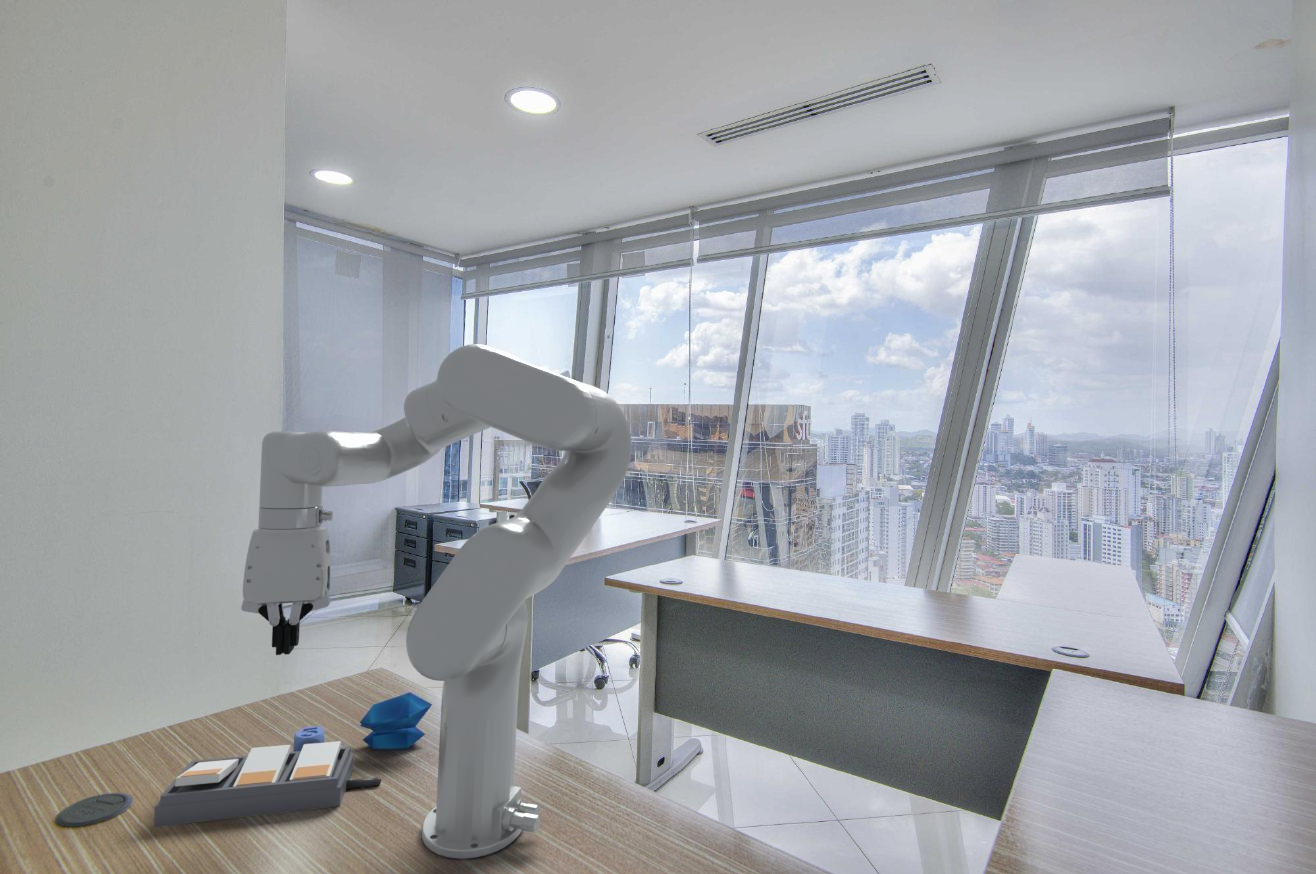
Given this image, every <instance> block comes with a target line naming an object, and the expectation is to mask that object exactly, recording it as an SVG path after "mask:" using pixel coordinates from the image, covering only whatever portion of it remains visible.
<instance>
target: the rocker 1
mask: <svg viewBox="0 0 1316 874" xmlns="http://www.w3.org/2000/svg"><path fill="white" fill-rule="evenodd" d="M238 761H239V759H232V760H220V761H209V762H199V763H197V764H196V765H194V766H193V767H191V768H190V769H188V770H187V771H185V772H184V773H183V774H181V775H180V776H177V777H176V778H175V779H176V782H175V786H185V785H195V784H206V783H216V782H220V781H221V780H222V779H223V778H225V777H226V776H228V774H229V773H231V772H232V771H233V770H234V769H236V768H237V767H238Z"/></svg>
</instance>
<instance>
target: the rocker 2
mask: <svg viewBox="0 0 1316 874" xmlns="http://www.w3.org/2000/svg"><path fill="white" fill-rule="evenodd" d="M340 748H342V740H341V741H340V740H339V741H337V740H336V741H326V742H325V741H324V743H313V744H304V745H303V748H302V750H301V753H300V755H299V758H298V760H297V763H296V765H295V767H294V770H293V772H292V775H291V777H290V780H289V781H298V780H308V779H318V778H328V777H331V776H332V773H333V770H334V767H335V764H336V761H337V758H338V754H339V751H340Z"/></svg>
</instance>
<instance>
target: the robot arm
mask: <svg viewBox="0 0 1316 874" xmlns="http://www.w3.org/2000/svg"><path fill="white" fill-rule="evenodd" d="M403 411H404V413H403V414H404V417H403V418H401V419H399V420H396V422H393V423H391V424H389V425H386V426H384V427H381V428H379V429H378V430H374V431H371V432H367V431H366V432H364V431H342V430H340V431H339V430H320V431H319V430H318V431H311V432H307V431H306V432H305V431H271V432H268V433H267V434H265V435H264V437H263V438H262V442H261V455H260V456H261V458H260V459H261V460H260V482H259V484H260V485H259V505H258V523H257V524H258V528H256V529H254V530H253V531H252V533H251V537H250V540H249V544H248V549H247V554H246V558H245V559H246V560H245V564H244V572H243V581H242V582H243V583H242V598H243V601H242V604H241V606H240V607H241V608H240V609H241V610H242V611H243V612H246V613H253V614H259V615H260V616H261V617H263V618H264V619H265V620H266V621H268V624H269V625H270V626H271V627H272V630H271V631H272V632H271V634H272V635H271V647H272V648H275V656H281V655H282V654H284V655H285V656H286V655H290V654H291V653H292V652H293V650H294V649H295V647H297V646H298V645H299V643H300V642H299V641H300V624H301V621H302V620H303V618H305V617H306V616H307V615H308V614H309V613H310V612H313V611H317V610H321V609H324V608H328V607H329V606H330V604H331V601H332V600H331V597H330V593H329V591H330V589H331V583H332V582H331V581H332V567H331V566H332V564H331V561H332V559H331V544H330V538H329V537H330V536H329V531H328V528H327V527H322V524H323V523H325V522H327V521H333V518H334V517H333V516H334V514H333V511H331V510H329V511H327V510H326V509H324V508H323V505H322V504H323V487H324V488H325V487H327V488H328V487H329V488H330V487H342V486H343V487H344V486H350V485H351V486H354V485H369V484H375V483H380V482H383V481H386V480H389V479H391V478H393V477H396V476H398V475H401V474H403V473H405V472H407V471H410V470H412V469H414V468H416V467H419V466H421V465H423V464H424V463H427V462H428V461H429V460H430V459H432V458H433V457H434V456H436V455H438V453H439V452H440V451H441V450H442V449H443V448H446V447H449V446H450V445H453V444H455V443H458V442H459V441H462V440H465V439H467V438H469V437H471V436H474V435H475V434H478V433H480V432H483V431H485V430H488V429H490V428H492V429H495V430H498V431H501V432H503V433H505V434H507V435H510V436H513V437H515V438H518V439H520V440H522V441H525V442H527V443H528V444H529V443H530V444H532V445H535V446H537V447H540V448H543V449H546V450H551V451H561V452H564V455H563V456H562V458H561V460H560V461H559V462H558V463H557V464H556V466H554V468H553V469H551V471H550V472H549V473H548V474H547V475H546V476H544V479H543V480H542V481H541V482H540V484H539V485H538V487H537V489H536V490H535V492H534V493H533V494H532V496H531V497H530V498H529V500H528V501H527V502H526V504H525V505H524V506H523V507H522V509H520V511H518V513H517V514H516V515H515V516H513V517H511V518H509V519H507V520H503V521H499V522H494V523H492V524H490V525H487V526H484V527H483V528H481V529H480V530H478V531H476V532H475V533H474V534H473V535H472V536H471V537H470V538H468V539H467V541H465V543H464V544H463V545H462V546H461V547H460V548H459V550H458V551H457V552H456V554H455V555H454V556H453V557H452V558H451V560H450V562H448V565H447V566H446V567H445V569H444V570H443V572H442V573H441V574H440V575H439V577H438V579H437V580H436V581H435V583H434V584H433V586H432V587H431V588H430V590H429V591H428V592H427V594H426V595H425V596H424V597H423V599H422V601H421V602H420V604H419V605H418V607H417V608H416V610H415V611H414V613H413V615H412V617H411V619H410V621H409V624H408V628H407V630H406V636H405V647H406V653H407V656H408V659H409V662H410V664H411V666H412V667H413V668H414V669H415V670H416V672H418V674H420V675H421V676H423V677H424V678H426V679H429V680H432V681H439V682H443V684H442V692H441V707H440V722H439V723H440V727H439V745H438V746H439V748H438V766H437V767H438V769H437V784H436V785H437V786H436V787H437V789H436V806H435V807H433V808H432V809H431V810H430V811H429V812H428V814H427V815H426V816H425V818H424V820H423V822H422V826H421V827H422V828H421V838H422V842H423V843H424V845H425V847H427V849H429V850H430V851H431V852H433V853H435V854H436V855H439V856H442V857H445V858H451V859H473V858H480V857H484V856H488V855H491V854H493V853H496V852H498V851H500V850H502V849H505V848H506V847H507V846H509V845H510V844H511V843H512V842H514V841H515V839H517V838H518V837H519V836H520V834H521V833H522V831H524V832H529V833H534V834H537V833H538V831H539V828H540V826H541V821H542V820H541V815H540V814H539V811H540V805H539V804H537V803H532V802H530V803H528V802H524V800H523V799H521V798H522V797H521V796H522V795H521V794H522V787H521V786H516V785H515V770H516V769H515V768H516V765H515V764H516V748H517V746H516V744H517V743H516V742H517V726H518V725H517V724H518V706H519V691H520V690H519V688H520V675H521V665H522V658H523V652H524V647H525V643H526V637H527V629H528V609H527V604H526V600H527V599H528V598H531V597H532V596H533V595H536V594H537V593H540V592H541V591H542V590H544V589H546V588H548V587H549V586H550V585H552V583H553V582H555V581H556V580H557V578H558V577H559V576H560V574H561V572H562V571H563V570H564V568H565V566H566V565H567V563H568V562H569V561H570V559H571V557H572V556H573V555H574V553H576V551H577V549H578V547H580V545H581V544H582V542H583V541H584V540H585V538H586V537H587V536H588V534H589V532H590V531H591V530H592V528H593V526H594V525H595V524H596V522H597V521H598V520H599V518H600V517H601V515H602V513H603V512H604V511H605V510H606V508H607V507H608V505H609V504H610V502H611V501H612V500H613V498H615V497H614V496H615V495H616V494H617V492H618V490H619V489H620V488H621V485H622V483H623V481H624V479H625V477H626V476H627V472H628V470H629V466H630V462H631V456H632V447H633V446H632V435H631V434H632V433H631V430H630V425H629V424H628V420H627V418H626V415H625V413H624V411H623V410H622V408H621V407H620V405H619V403H617V401H616V400H615V399H614V398H613V397H612V396H611V395H610V394H608V393H607V392H606V391H605V390H603V389H601V388H600V387H599V388H598V387H596V386H595V385H592V384H587V383H585V382H582V381H578V380H575V379H573V378H570V377H566V376H564V375H561V374H558V373H556V372H552V371H550V370H547V369H545V368H543V367H539V366H536V365H534V364H532V363H528V362H526V361H524V360H523V359H521V358H520V357H517V356H516V355H514V354H512V353H509V352H507V351H504V350H501V349H498V348H496V347H495V348H494V347H492V346H490V345H486V344H479V343H473V344H467V345H463V346H459V347H458V348H456V349H454V350H453V351H452V352H450V353H448V355H447V356H446V357H445V358H444V359H443V360H442V363H441V364H440V365H439V368H438V371H437V377H436V380H434V381H431V382H428V383H427V384H425V385H422V386H420V387H417V388H416V389H414V390H412V391H410V392H409V393H408V394H407V395H406V397H405V400H404V404H403ZM290 603H292V605H291V608H290V613H289V618H288V619H286V616H285V612H284V604H290Z"/></svg>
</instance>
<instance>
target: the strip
mask: <svg viewBox="0 0 1316 874" xmlns="http://www.w3.org/2000/svg"><path fill="white" fill-rule="evenodd" d="M300 753H301V751H297V752H293V751H290V754H289V756H288V758H287V761H286V763H285V766H284V768H283V771H282V773H281V776H280V778H279V780H278V783H268V784H258V785H248V786H238V787H233V785H234V783H235V781H236V779H237V777H238V775H239V773H240V771H241V769H242V767H243V765H244V763H245V761H246V759H247V757H248V755H240V756H232V757H220V758H219V757H218V758H207V759H206V758H205V759H195V760H191V761H190V762H189V763H188V764H187V765H186V766H185V767H184V768H183V770H182V771H181V772H179V774H178V776H180V775H181V774H183V773H184V772H185V771H187V770H188V769H190V768H191V767H193V766H194V765H196V764H197V763H199V762H209V761H220V760H232V759H239V761H238V767H237V768H236V769H234V770H233V771H232V772H231V773H229V774H228V776H226V777H225V778H223V779H222V780H221V781H220V782H216V783H206V784H195V785H185V786H175V782H176V778H175V779H174V780H173V781H172V782H171V783H170V784H169V786H168V787H167V788H166V789H165V790H164V791H163V792H162V793H161V795H160V796H159V797H160V798H159V799H160V800H159V801H158V803H156V805H155V806H154V816H153V818H154V819H153V827H154V828H155V827H163V826H164V827H165V826H173V825H180V824H181V825H182V824H191V823H192V824H193V823H199V822H211V821H218V820H220V821H221V820H227V819H235V818H236V819H237V818H244V817H255V816H262V815H263V816H264V815H272V814H280V813H282V814H283V813H291V812H300V811H307V810H317V809H326V808H334V807H341V805H342V802H343V799H344V796H345V794H346V790H347V789H353V788H361V787H372V786H379V785H380V784H381V783H382V778H381V777H379V776H378V777H365V778H357V779H351V777H352V775H353V773H354V758H355V757H354V756H355V754H351V746H346V747H345V746H343V747H342V746H341V748H340V751H339V754H338V758H337V761H336V764H335V767H334V770H333V773H332V776H331V777H328V778H318V779H308V780H298V781H289V780H290V777H291V775H292V772H293V770H294V767H295V765H296V763H297V760H298V758H299V755H300ZM178 776H177V777H178Z"/></svg>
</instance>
